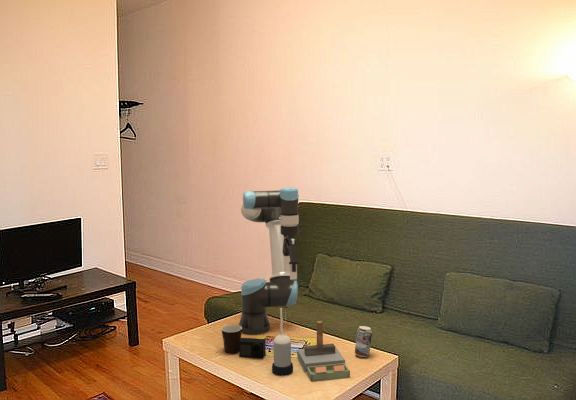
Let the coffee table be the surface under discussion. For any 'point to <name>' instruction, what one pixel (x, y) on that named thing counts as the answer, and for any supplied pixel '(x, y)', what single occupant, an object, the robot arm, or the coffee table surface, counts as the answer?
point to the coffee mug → (231, 338)
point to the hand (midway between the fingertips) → (290, 275)
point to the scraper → (319, 344)
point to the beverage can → (363, 341)
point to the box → (328, 372)
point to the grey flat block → (319, 359)
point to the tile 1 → (320, 370)
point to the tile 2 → (338, 368)
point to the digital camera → (252, 348)
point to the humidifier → (282, 353)
